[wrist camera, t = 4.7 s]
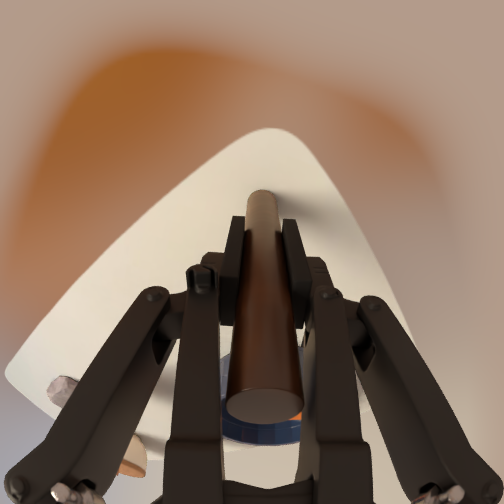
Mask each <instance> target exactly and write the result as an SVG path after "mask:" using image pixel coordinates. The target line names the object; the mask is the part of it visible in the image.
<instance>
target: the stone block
mask: <svg viewBox="0 0 504 504" xmlns="http://www.w3.org/2000/svg"><path fill="white" fill-rule="evenodd" d="M77 384H78V383H77V382H75V381H74V380H72V379H71V378H68V377H65V376H59V377H58V378H57V379H55V380H54V381H52V382H51V384H50V385H49V387H48V388H47V392H46V393H47V396H48V397H49V399H50V400H51V401H52V402H53V403H54V404H56V405H58V406H59V407H61V408H62V409H63V407H64V405H65V404H66V402H67V400H68V399H69V397H70V395H71V394H72V392H73V391H74V389H75V387H76V386H77Z"/></svg>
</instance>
